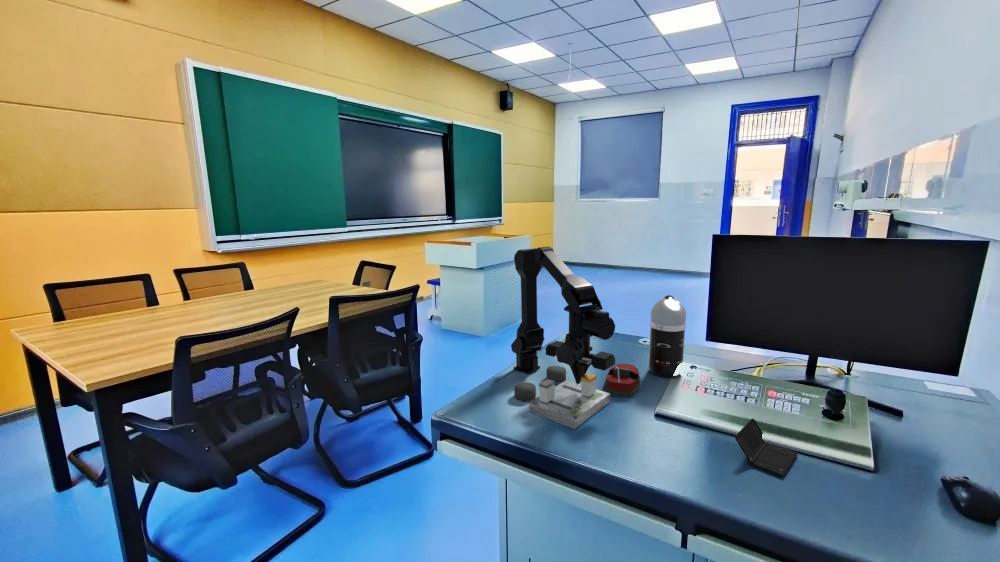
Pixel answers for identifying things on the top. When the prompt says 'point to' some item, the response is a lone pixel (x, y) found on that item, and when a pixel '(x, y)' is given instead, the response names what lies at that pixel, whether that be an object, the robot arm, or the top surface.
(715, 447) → the top surface
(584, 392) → the switch
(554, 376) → the coil
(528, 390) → the coil
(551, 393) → the switch
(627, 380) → the bumper car
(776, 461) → the handheld gaming console
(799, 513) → the top surface
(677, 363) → the spray bottle
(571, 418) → the panel
